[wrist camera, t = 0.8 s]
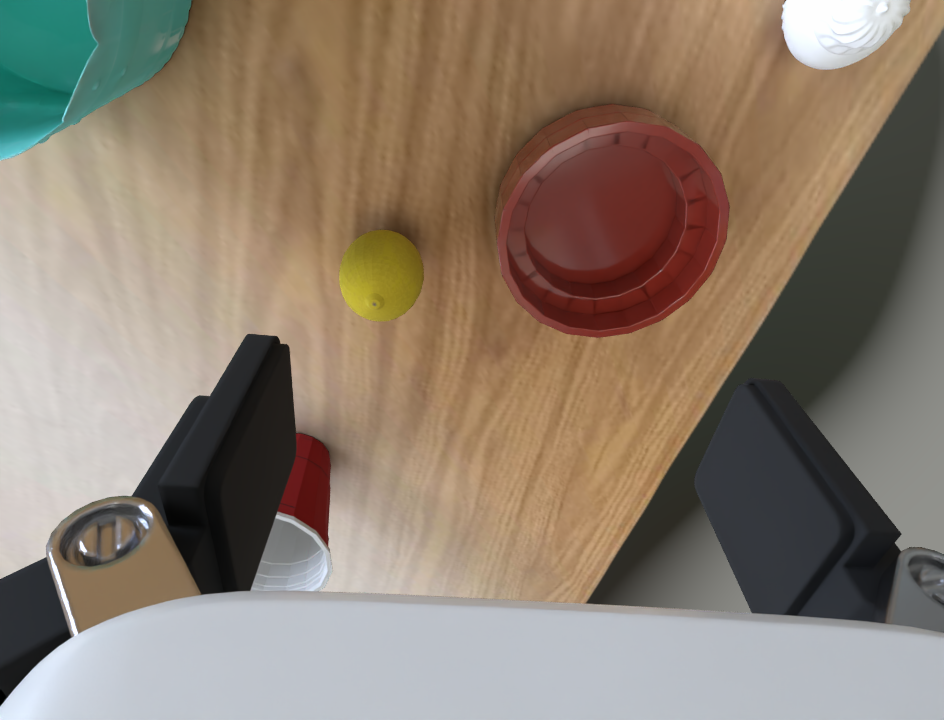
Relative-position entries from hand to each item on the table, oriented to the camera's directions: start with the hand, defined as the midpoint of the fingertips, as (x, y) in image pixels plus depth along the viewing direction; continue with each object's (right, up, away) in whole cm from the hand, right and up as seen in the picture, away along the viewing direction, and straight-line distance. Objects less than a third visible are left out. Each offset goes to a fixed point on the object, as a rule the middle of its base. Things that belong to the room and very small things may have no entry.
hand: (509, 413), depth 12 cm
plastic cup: (-17, -7, +41) cm, 45 cm away
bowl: (+8, +11, +28) cm, 31 cm away
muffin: (+19, +22, +20) cm, 35 cm away
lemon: (-7, +9, +29) cm, 32 cm away
